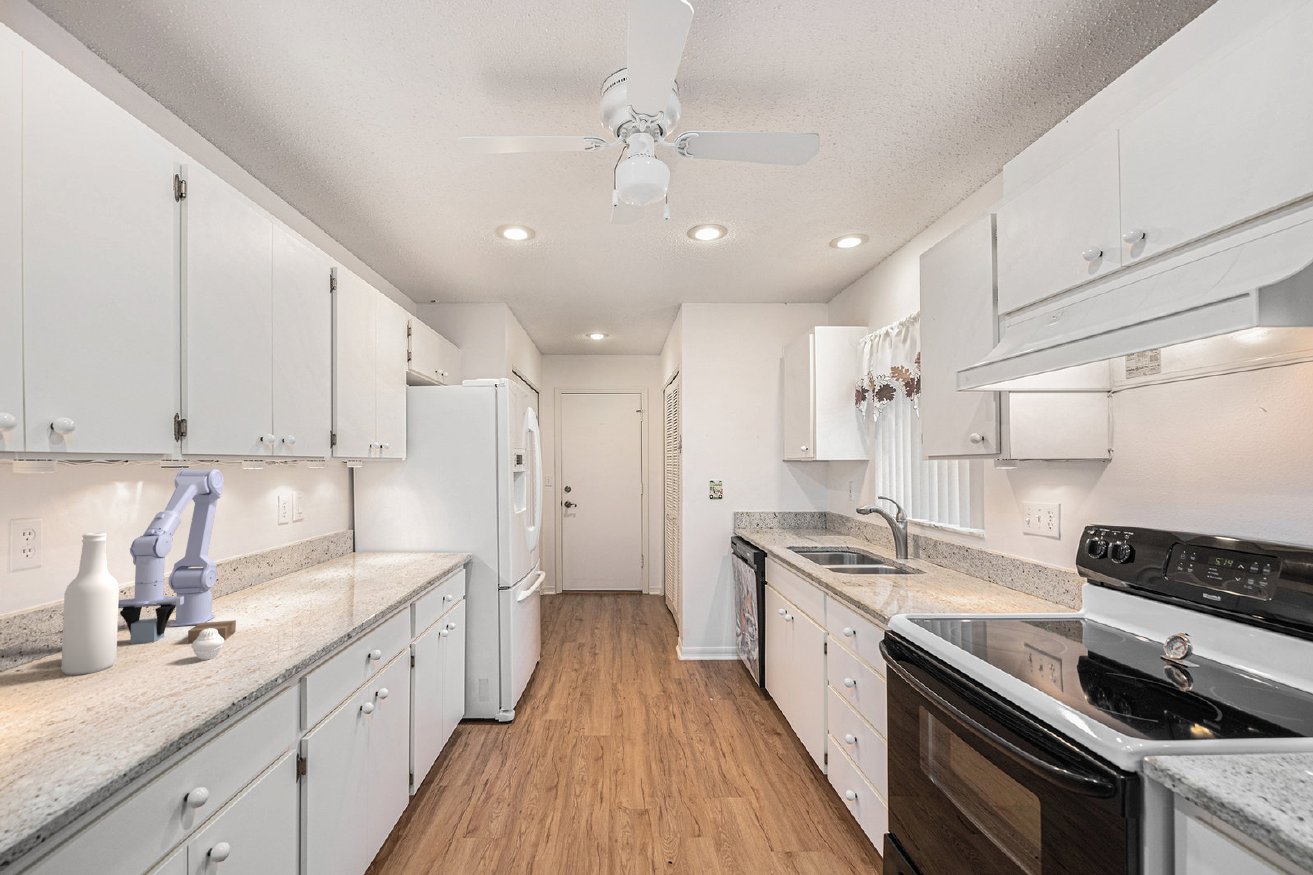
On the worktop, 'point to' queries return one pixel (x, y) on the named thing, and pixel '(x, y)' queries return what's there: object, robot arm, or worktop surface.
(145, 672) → the worktop surface
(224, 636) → the walnut base
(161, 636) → the blue cube
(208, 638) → the muffin
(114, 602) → the white bottle
